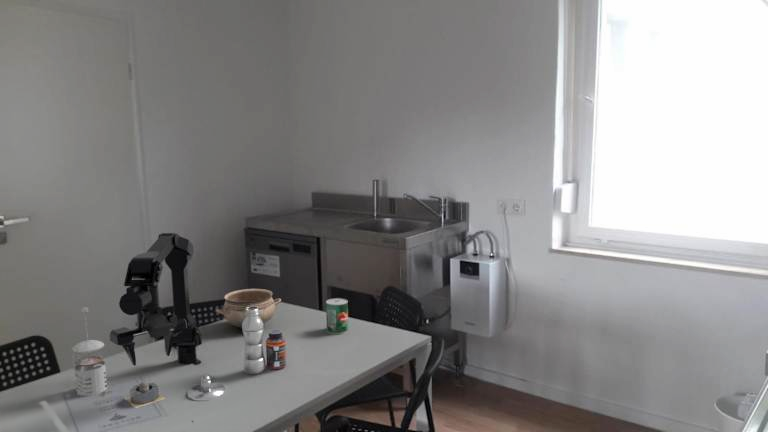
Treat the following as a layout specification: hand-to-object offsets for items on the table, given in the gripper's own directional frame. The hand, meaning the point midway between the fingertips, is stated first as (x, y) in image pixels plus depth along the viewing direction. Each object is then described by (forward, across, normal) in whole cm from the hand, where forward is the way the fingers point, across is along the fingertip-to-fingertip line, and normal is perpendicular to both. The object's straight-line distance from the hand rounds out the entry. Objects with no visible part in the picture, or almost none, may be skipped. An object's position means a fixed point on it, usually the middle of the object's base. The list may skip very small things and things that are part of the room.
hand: (151, 360), depth 159 cm
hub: (+12, +12, -6) cm, 18 cm away
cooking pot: (+12, +53, +34) cm, 64 cm away
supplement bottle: (+12, +37, -4) cm, 39 cm away
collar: (+11, -1, +2) cm, 11 cm away
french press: (+12, -9, +20) cm, 25 cm away
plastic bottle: (+12, +30, -2) cm, 33 cm away
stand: (+12, -1, +3) cm, 12 cm away
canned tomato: (+12, +72, +7) cm, 73 cm away
